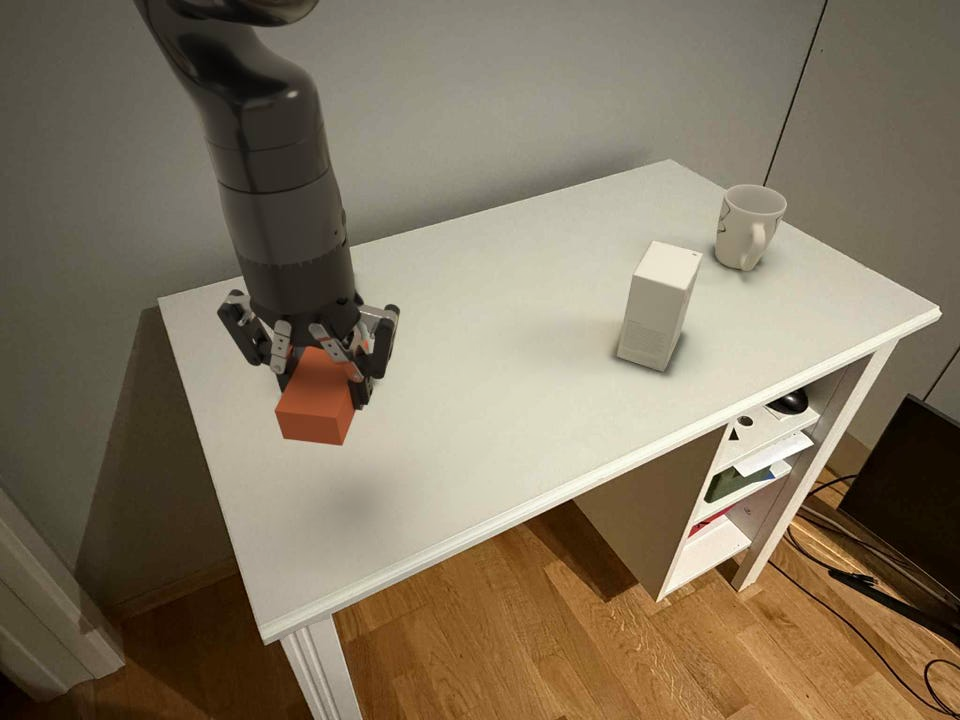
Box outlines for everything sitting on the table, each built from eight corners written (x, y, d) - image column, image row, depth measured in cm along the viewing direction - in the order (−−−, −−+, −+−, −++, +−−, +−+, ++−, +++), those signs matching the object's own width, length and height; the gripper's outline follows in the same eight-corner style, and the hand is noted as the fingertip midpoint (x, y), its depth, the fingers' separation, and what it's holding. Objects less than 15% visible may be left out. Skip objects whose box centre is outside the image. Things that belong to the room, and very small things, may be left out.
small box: (634, 320, 86) (652, 238, 77) (680, 335, 84) (705, 252, 75) (614, 357, 81) (631, 273, 72) (663, 373, 79) (687, 289, 70)
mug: (774, 288, 91) (799, 228, 84) (714, 284, 92) (733, 224, 85) (758, 244, 99) (779, 185, 93) (703, 240, 100) (720, 182, 93)
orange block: (342, 446, 51) (335, 417, 49) (283, 439, 52) (273, 410, 50) (372, 369, 58) (367, 340, 55) (319, 363, 58) (312, 334, 56)
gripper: (161, 251, 41) (232, 423, 53) (378, 270, 40) (401, 442, 51) (212, 193, 46) (266, 361, 58) (405, 208, 45) (420, 377, 57)
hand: (329, 398), depth 55 cm, fingers closed on orange block, 5 cm apart
